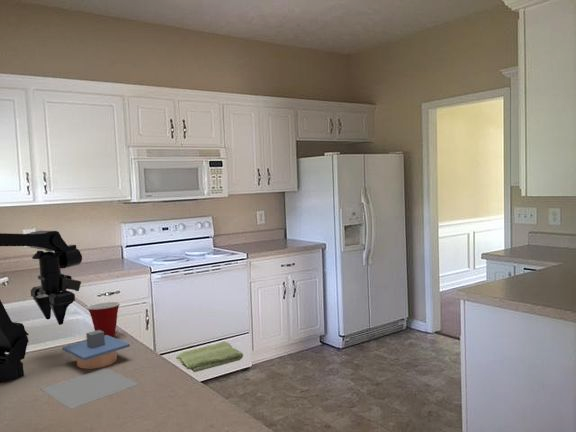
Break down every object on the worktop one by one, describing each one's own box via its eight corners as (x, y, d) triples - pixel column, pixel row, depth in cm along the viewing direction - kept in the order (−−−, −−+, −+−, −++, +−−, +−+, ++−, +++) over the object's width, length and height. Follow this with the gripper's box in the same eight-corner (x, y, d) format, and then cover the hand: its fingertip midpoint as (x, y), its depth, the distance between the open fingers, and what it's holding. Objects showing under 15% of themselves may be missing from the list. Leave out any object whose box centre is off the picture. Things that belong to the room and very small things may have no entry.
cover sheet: (84, 360, 142) (82, 343, 142) (62, 349, 152) (61, 334, 152) (129, 346, 152) (128, 330, 152) (107, 337, 162) (106, 322, 162)
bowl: (88, 374, 145) (86, 357, 144) (71, 365, 152) (69, 349, 152) (123, 363, 153) (122, 346, 152) (105, 355, 160) (104, 339, 160)
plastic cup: (118, 330, 185) (116, 298, 184) (125, 338, 176) (123, 304, 175) (86, 336, 180) (84, 303, 179) (92, 345, 170) (89, 309, 169)
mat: (70, 412, 122) (70, 408, 122) (40, 392, 134) (40, 388, 134) (138, 387, 135) (138, 384, 135) (105, 371, 147) (105, 367, 147)
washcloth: (174, 361, 154) (173, 350, 154) (227, 349, 163) (227, 339, 163) (188, 375, 143) (188, 364, 143) (245, 361, 152) (245, 351, 151)
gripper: (90, 270, 155) (94, 320, 156) (63, 264, 168) (67, 310, 169) (52, 277, 147) (57, 330, 148) (28, 270, 160) (32, 319, 161)
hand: (54, 321), depth 157 cm, fingers open, 9 cm apart
